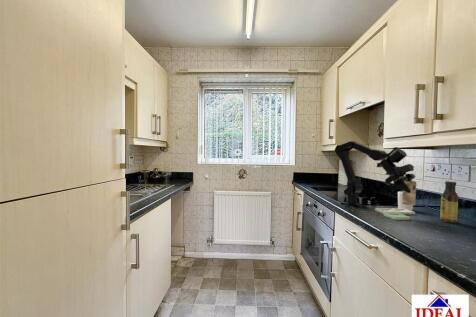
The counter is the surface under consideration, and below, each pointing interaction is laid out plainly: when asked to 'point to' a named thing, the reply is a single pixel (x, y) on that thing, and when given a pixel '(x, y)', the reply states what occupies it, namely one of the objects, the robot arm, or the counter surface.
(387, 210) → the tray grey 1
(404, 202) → the letter block
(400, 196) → the white cup
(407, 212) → the grey tray
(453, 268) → the counter surface
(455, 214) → the sauce bottle
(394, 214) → the tray green
